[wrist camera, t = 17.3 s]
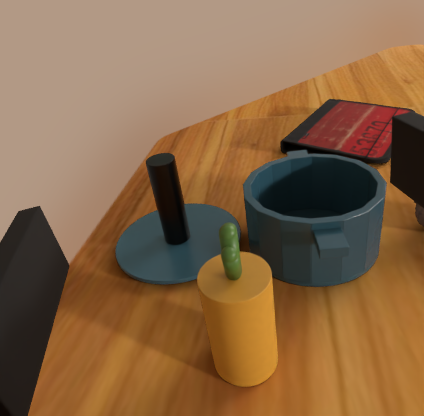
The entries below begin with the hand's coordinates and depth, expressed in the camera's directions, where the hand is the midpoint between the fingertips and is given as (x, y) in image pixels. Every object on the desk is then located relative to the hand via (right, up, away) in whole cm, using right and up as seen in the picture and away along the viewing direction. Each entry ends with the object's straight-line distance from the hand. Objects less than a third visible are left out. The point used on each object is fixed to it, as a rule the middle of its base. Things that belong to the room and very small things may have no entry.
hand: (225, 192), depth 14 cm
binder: (+23, +12, +51) cm, 57 cm away
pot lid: (-4, -4, +31) cm, 32 cm away
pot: (+10, -4, +28) cm, 31 cm away
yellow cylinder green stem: (+2, -13, +17) cm, 22 cm away
